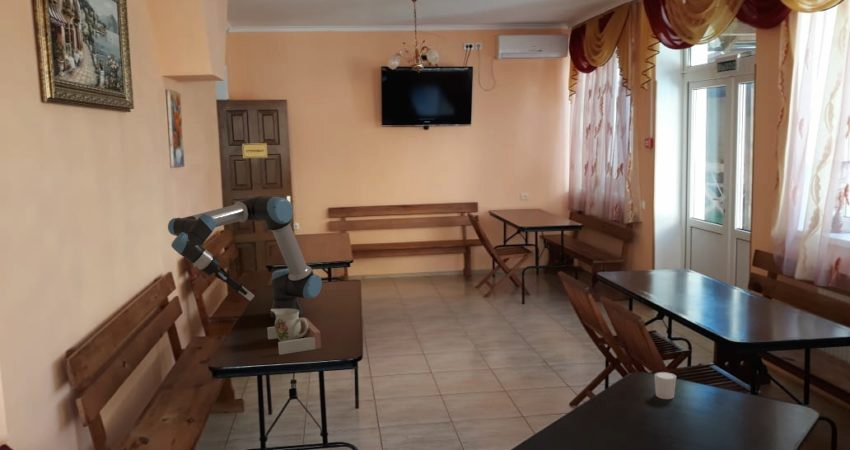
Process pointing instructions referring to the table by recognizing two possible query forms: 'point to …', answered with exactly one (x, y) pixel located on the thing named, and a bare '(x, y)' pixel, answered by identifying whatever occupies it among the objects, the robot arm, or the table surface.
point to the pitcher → (288, 324)
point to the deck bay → (298, 340)
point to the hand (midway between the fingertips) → (252, 298)
